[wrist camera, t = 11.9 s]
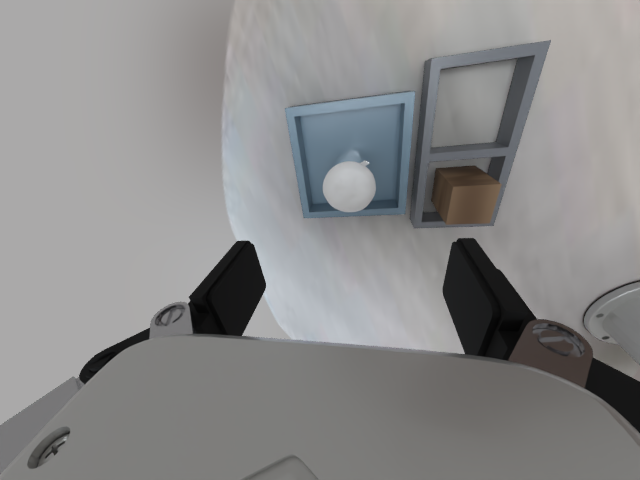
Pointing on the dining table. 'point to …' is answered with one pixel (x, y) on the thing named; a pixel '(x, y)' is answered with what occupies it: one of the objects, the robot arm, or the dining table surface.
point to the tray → (353, 148)
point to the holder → (500, 150)
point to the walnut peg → (464, 195)
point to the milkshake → (349, 183)
